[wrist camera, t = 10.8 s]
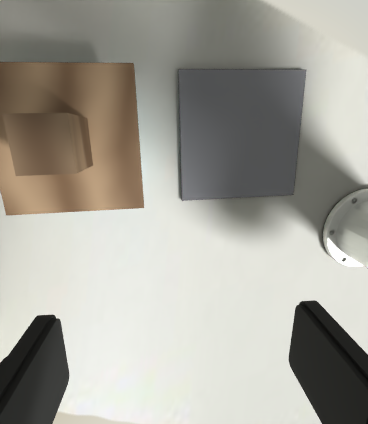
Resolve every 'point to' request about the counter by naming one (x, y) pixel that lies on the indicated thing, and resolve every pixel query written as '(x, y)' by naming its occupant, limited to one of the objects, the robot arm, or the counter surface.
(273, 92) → the mat
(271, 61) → the counter surface
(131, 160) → the lid
